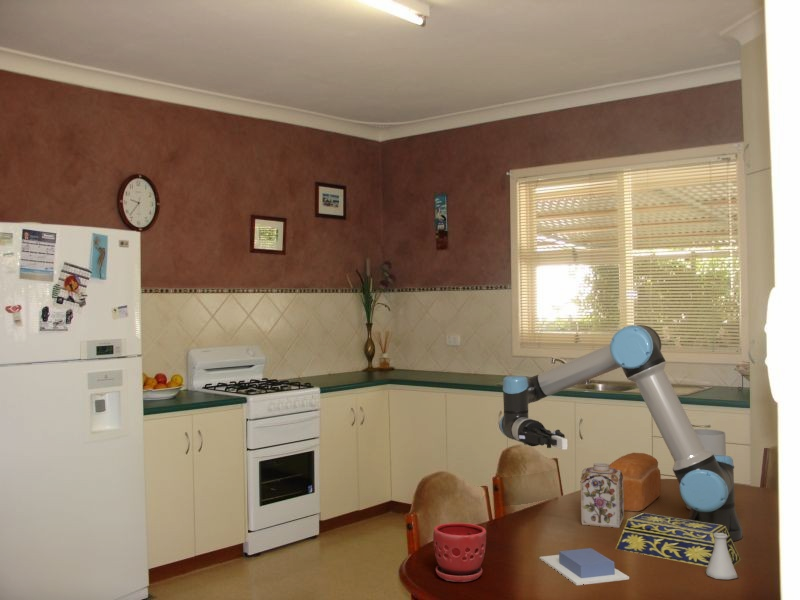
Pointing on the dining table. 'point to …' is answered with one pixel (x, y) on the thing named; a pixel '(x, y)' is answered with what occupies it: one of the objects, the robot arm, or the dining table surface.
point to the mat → (554, 563)
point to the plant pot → (459, 551)
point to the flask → (720, 560)
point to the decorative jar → (602, 496)
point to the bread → (638, 480)
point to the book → (586, 563)
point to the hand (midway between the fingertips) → (564, 444)
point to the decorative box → (673, 538)
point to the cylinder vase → (712, 442)
